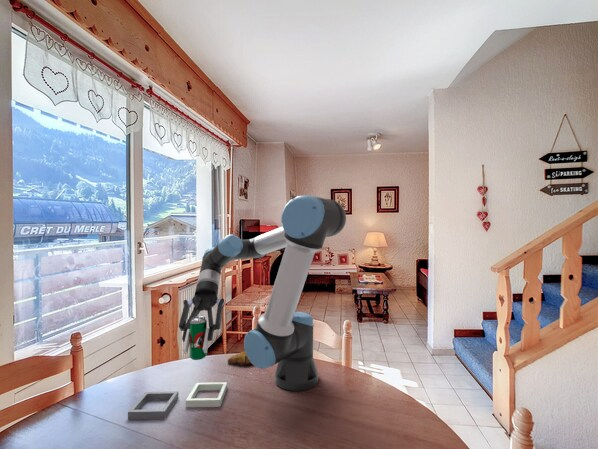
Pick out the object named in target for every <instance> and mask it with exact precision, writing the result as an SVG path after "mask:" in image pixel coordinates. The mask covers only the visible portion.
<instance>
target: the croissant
mask: <svg viewBox="0 0 598 449" xmlns="http://www.w3.org/2000/svg"><path fill="white" fill-rule="evenodd" d="M227 364H229V365H237V366H249V365H250V366H251V365H253V364H252V363H251V362H250V360H249V359H248V357H247V355H246V352H245V350H243V351H240V352H239V353H236V354H234V355H232V356H231V357H229V358H227Z"/></svg>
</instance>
